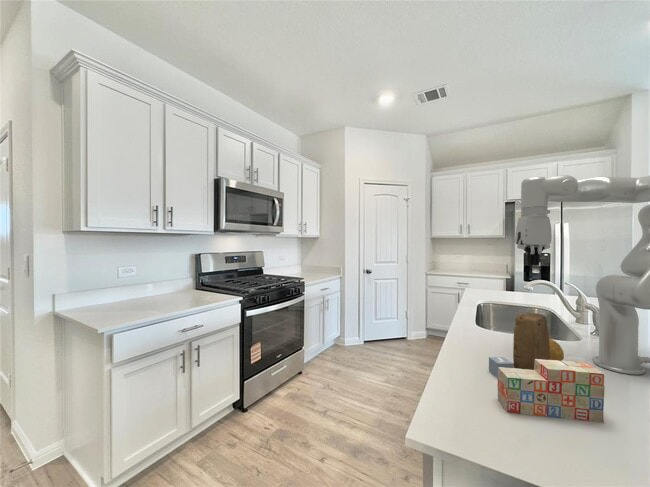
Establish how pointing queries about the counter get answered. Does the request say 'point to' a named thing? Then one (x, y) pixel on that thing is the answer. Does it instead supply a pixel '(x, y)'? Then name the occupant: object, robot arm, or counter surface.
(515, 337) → the brown rock
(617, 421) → the counter surface
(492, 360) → the alphabet block
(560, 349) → the potato
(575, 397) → the stack of blocks
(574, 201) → the robot arm
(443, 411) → the counter surface
